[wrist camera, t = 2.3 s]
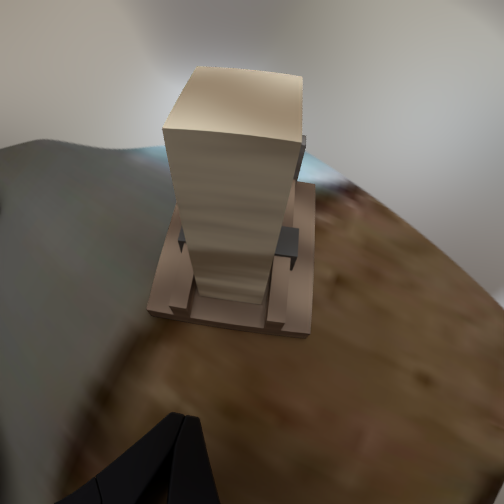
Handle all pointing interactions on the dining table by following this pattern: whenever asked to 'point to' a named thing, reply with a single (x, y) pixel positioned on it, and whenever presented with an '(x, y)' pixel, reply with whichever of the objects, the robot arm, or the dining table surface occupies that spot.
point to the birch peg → (234, 173)
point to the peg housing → (278, 285)
